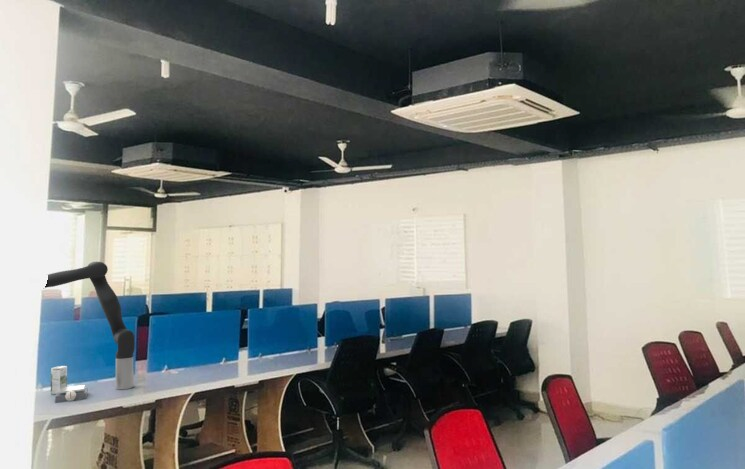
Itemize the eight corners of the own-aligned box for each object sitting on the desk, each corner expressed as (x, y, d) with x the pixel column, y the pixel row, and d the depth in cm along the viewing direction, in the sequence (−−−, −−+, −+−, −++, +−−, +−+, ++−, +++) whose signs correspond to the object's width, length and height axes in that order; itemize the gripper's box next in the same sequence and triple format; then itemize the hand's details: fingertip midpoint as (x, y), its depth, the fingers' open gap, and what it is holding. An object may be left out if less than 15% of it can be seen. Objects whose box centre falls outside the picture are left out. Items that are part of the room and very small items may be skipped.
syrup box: (57, 391, 302) (57, 365, 303) (67, 391, 302) (67, 365, 303) (50, 394, 297) (50, 367, 298) (60, 394, 296) (60, 367, 297)
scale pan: (60, 388, 290) (60, 387, 290) (85, 386, 295) (85, 384, 295) (57, 393, 279) (57, 391, 279) (83, 390, 285) (83, 388, 285)
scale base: (58, 396, 290) (58, 387, 291) (87, 393, 296) (87, 384, 297) (55, 402, 277) (55, 393, 277) (85, 399, 283) (85, 389, 283)
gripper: (32, 317, 272) (19, 349, 268) (26, 316, 283) (14, 347, 278) (15, 313, 268) (2, 346, 263) (10, 313, 278) (-2, 344, 274)
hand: (8, 346), depth 271 cm, fingers open, 8 cm apart
